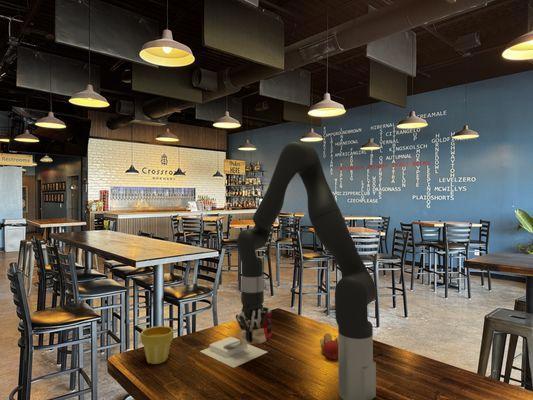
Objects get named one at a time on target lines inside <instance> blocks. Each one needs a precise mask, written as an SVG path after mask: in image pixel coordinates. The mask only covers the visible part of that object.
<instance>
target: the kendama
mask: <svg viewBox="0 0 533 400" xmlns="http://www.w3.org/2000/svg"><path fill="white" fill-rule="evenodd" d="M319 342H320V348H321V353H322V355H323V354H324V355H325V356H326V358H328V359H329V360H337V359H338V337H336V338H334V339H333V338H332V335H331V333H329V332H327V333H325V334H324V335H323V338H321V339H319Z"/></svg>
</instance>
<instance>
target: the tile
mask: <svg viewBox="0 0 533 400" xmlns="http://www.w3.org/2000/svg"><path fill="white" fill-rule="evenodd" d="M237 340H239V338H236V337H234V336H229V337H227V338H224V339H220V340H219V341H218V340H217V341H215V342H213V343H210V344H209V348H210V350H211V351H213V352H215V353H217V354H219V355H221V356H223V357H226V358H227V357H229V356H232V355H234V354H236V353H239V352H241V351H243V350H246V349H248V344H245V345H240V346H237V347H229V348H223V346H225V345H227V344H230V343H232V342H235V341H237Z"/></svg>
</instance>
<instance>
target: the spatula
mask: <svg viewBox="0 0 533 400" xmlns="http://www.w3.org/2000/svg"><path fill="white" fill-rule="evenodd" d="M264 342H267V339H266V338H265V333H264V329H263V328H261V329H254V330H252V342H251V343H250V342H247V340H246V331H244V330H242V331H239V332H238V340H237V341H235V342H232V343H230V344H227V345H225V346H223V348H229V347H237V346H240V345H245V344H249V345H254V344H256V345H257V344H262V343H264Z"/></svg>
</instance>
